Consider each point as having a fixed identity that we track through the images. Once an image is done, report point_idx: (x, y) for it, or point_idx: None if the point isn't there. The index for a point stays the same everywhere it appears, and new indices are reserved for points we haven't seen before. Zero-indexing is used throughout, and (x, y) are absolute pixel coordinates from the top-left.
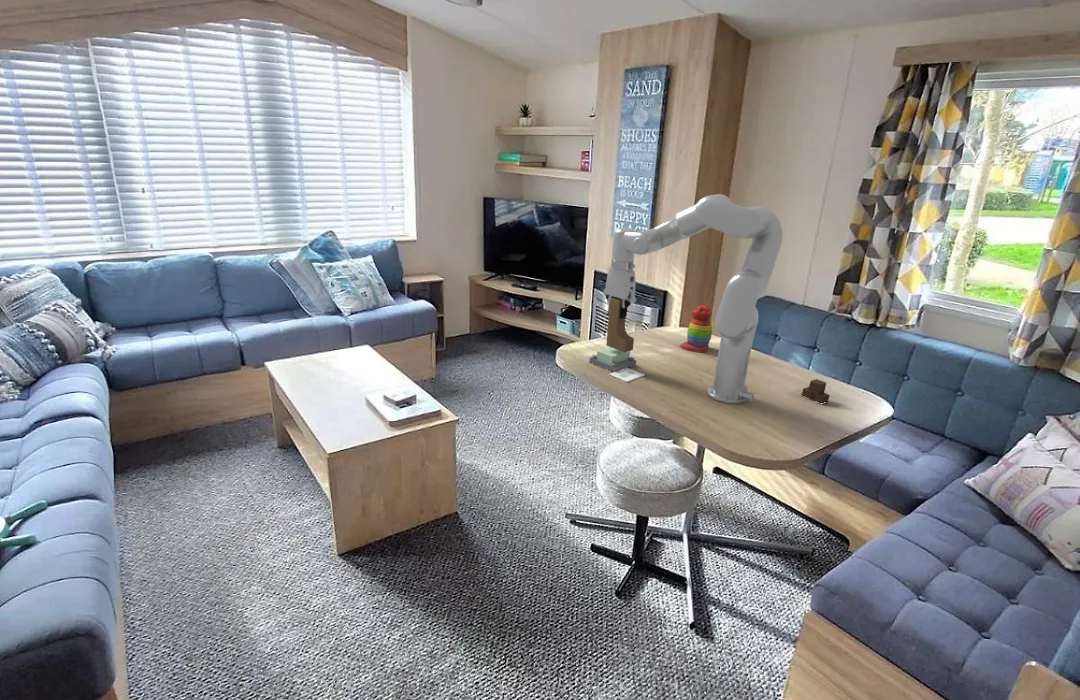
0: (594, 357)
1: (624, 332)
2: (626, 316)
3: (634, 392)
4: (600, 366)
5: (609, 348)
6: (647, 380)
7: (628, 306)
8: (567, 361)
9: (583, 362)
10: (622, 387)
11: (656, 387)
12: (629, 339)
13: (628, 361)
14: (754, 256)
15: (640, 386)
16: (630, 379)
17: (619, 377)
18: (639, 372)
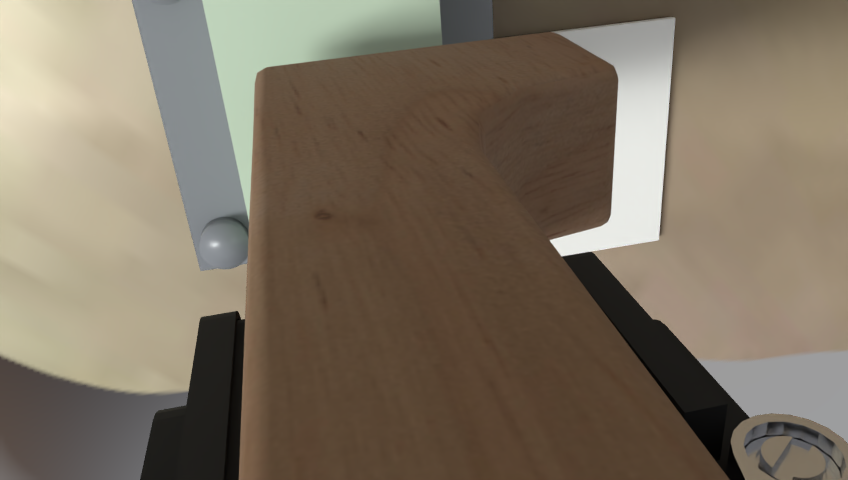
0: (244, 256)
1: (498, 154)
2: (591, 252)
3: (774, 294)
4: None
5: (250, 109)
6: (737, 77)
7: (827, 470)
8: (101, 381)
9: (177, 285)
10: (683, 311)
11: (842, 113)
12: (609, 158)
13: (468, 10)
14: None
15: (755, 200)
16: (655, 195)
17: (580, 240)
18: (617, 26)
